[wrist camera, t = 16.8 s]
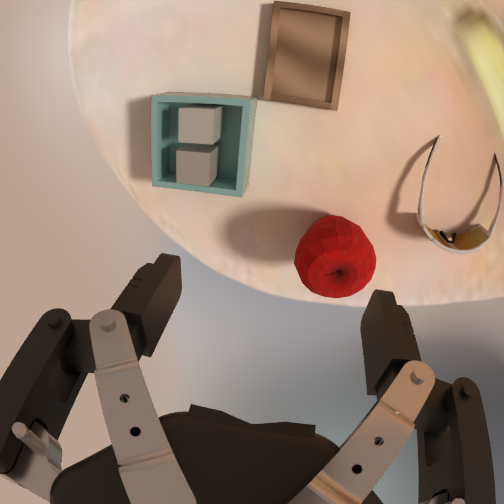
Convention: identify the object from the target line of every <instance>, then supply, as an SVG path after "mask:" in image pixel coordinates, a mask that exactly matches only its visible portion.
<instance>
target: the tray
mask: <svg viewBox="0 0 504 504" xmlns="http://www.w3.org/2000/svg"><path fill="white" fill-rule="evenodd" d="M349 21H350V12H347V11H342V10H337V9H331V8H326V7H320V6H314V5H307V4H299V3H291V2H281V1H274V5H273V14H272V23H271V32H270V41H269V50H268V60H267V69H266V78H265V87H264V97H263V99H265V100H273V101H281V102H288V103H295V104H301V105H307V106H313V107H319V108H325V109H330V110H335V111H337V109H338V103H339V96H340V90H341V83H342V76H343V69H344V62H345V54H346V46H347V38H348V30H349Z"/></svg>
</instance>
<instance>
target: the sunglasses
mask: <svg viewBox="0 0 504 504" xmlns="http://www.w3.org/2000/svg"><path fill="white" fill-rule="evenodd" d="M440 136H441V135H439V136H438V137H437V139H436V141H435V143H434V145H433V147H432V150H431V152H430V155H429V158H428V161H427V164H426V167H425V170H424V174H423V178H422V186H421V192H420V198H419V204H418V213H417V214H416V219H417V221H418V223H419V225H420V226H421V227H422V229H423V230H424V231H425V233H426V234H427V236H428V237H429V238H430V239H431V241H433V242H434V243H435V244H436V245H437V246H439V247H440V248H442V249H444V250H445V251H448V252H451V253H456V254H468V253H472V252H475V251H477V250H479V249H481V248H482V247H483V246H484V245H485V244H487V243H488V242H489V241H490V238H491V237H492V234H493V232H494V229H495V227H496V224H497V221H498V218H499V214H500V209H501V203H502V196H503V177H502V171H501V167H500V163H499V160H498V157H497V154H496V152H495V160H496V163H497V166H498V171H499V176H500V192H499V204H498V209H497V212H496V215H495V217H494V219H493V220H492V222H491V225H490V228H489V230H488V231H487V230H486V229H485V228H484V227H483V226H482V225H478V226H476V227H475V228H473V229H471V230H469V231H468V232H467V233H463V234H460V235H456V233H453V235H452V241H449V240H448V239H447V237H446V235H445V234H444V233H443V231H440V232H435V231H433V230H431V229H430V228H429V227H427V226H426V224H425V223H424V218H423V217H424V214H423V194H424V185H425V179H426V175H427V172H428V169H429V165H430V162H431V159H432V156H433V153H434V151H435V148H436V146H437V144H438V141H439V139H440Z"/></svg>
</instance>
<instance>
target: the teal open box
mask: <svg viewBox="0 0 504 504" xmlns="http://www.w3.org/2000/svg"><path fill="white" fill-rule="evenodd" d="M256 102H257V97H252V96H241V95H228V94H212V93H183V92H166V93H162V94H157V95H152V96H151V163H152V186H154V187H163V188H172V189H181V190H189V191H197V192H205V193H213V194H220V195H228V196H235V197H243V195H244V192H245V190H246V188H247V186H248V184H249V173H250V163H251V152H252V142H253V132H254V122H255V112H256ZM193 103H201V104H223V105H225V118H224V136H222V137H221V138H220V139H219V140H217V141H216V142H215V143H221V157H220V173H219V174H218V176H217V177H216V178H215V179H214V181H213V182H212V183H211V184H210V186H201V185H192V184H183V183H177V178H176V150H178V149H179V148H181V147H182V146H184V145H185V144H187V143H180V142H178V122H179V108H181V107H184V106H187V105H190V104H193Z"/></svg>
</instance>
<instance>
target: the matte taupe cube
mask: <svg viewBox="0 0 504 504" xmlns="http://www.w3.org/2000/svg"><path fill="white" fill-rule="evenodd" d="M224 118H225V105H223V104H201V103H193V104H190V105H187V106H184V107H181V108H179V122H178V142H180V143H197V144H212V145H213V144H214V143H215V142H216V141H217V140H219V139H220V138H221V137H222V136H224Z"/></svg>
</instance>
